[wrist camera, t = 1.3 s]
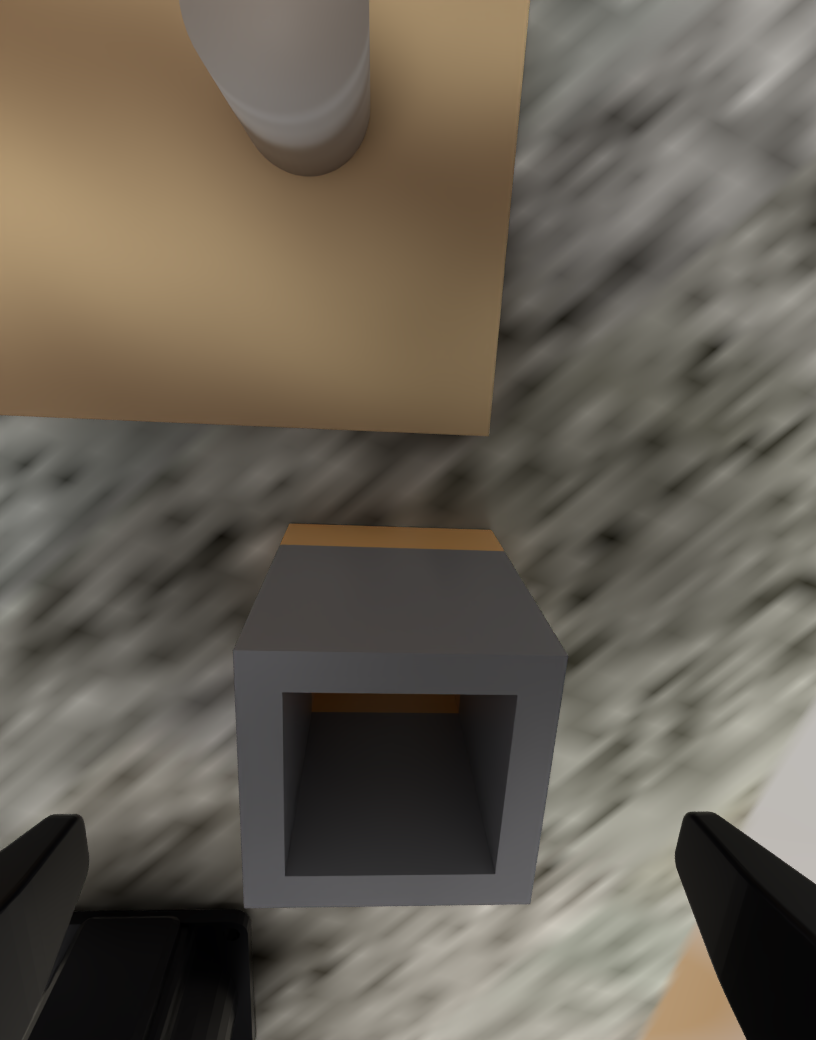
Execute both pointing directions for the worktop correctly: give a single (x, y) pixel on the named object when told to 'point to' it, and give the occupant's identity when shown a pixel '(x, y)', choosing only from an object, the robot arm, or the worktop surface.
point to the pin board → (257, 210)
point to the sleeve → (393, 721)
